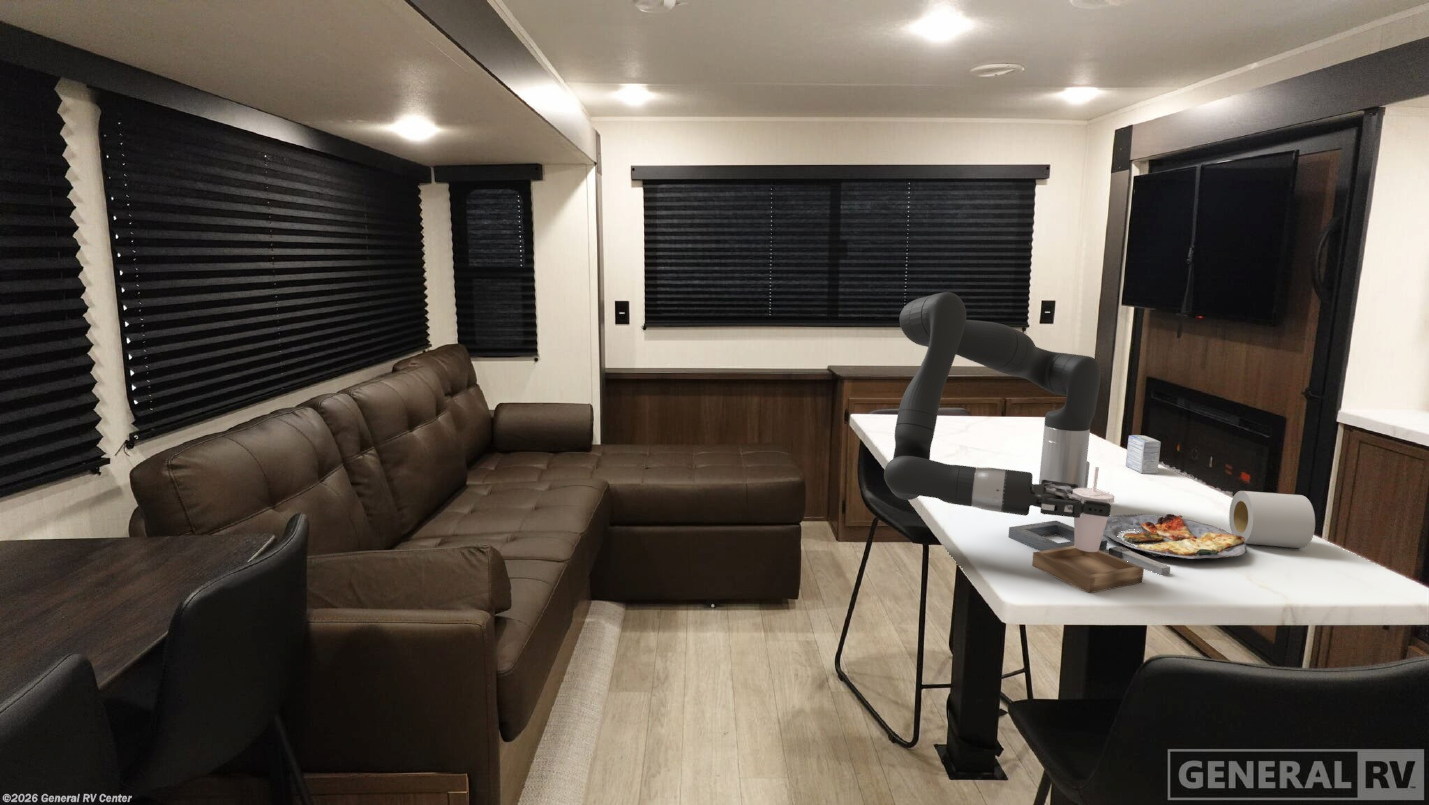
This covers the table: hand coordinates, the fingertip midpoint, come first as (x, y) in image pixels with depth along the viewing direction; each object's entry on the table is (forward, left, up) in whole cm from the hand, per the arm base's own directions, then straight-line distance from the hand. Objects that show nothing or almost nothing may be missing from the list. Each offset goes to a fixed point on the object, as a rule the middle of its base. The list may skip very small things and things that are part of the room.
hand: (1108, 504), depth 126 cm
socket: (-6, -15, -13) cm, 20 cm away
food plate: (-27, -8, -13) cm, 31 cm away
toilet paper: (-45, -1, -13) cm, 46 cm away
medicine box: (-72, -49, -13) cm, 88 cm away
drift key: (-11, -2, -13) cm, 17 cm away
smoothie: (+2, -2, -8) cm, 9 cm away
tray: (+1, -2, -13) cm, 13 cm away
